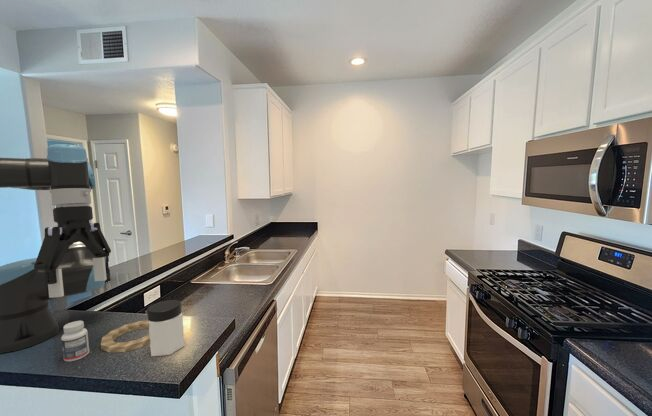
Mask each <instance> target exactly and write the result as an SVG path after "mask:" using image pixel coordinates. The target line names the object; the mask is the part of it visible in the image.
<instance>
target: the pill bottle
mask: <svg viewBox="0 0 652 416" xmlns="http://www.w3.org/2000/svg"><path fill="white" fill-rule="evenodd" d="M60 340H61V341H60V342H61V349H62V357H63V361H64V362H75V361H78V360H81V359H83V358H85V357H87V355H88V354H89V353H90V342H89V332H88V330H87V328H85V323H84V321H83V320H75V321H72V322H68V323H66V324H65V325H63V334H62V335H61V338H60Z"/></svg>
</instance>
